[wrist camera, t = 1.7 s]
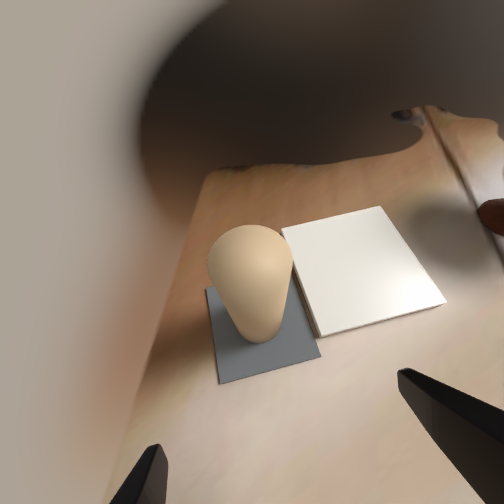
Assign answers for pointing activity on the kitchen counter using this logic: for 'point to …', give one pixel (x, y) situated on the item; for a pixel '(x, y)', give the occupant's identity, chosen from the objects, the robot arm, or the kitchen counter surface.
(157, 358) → the kitchen counter surface
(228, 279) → the tan tapered rounded piece
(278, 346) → the mat
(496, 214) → the ice cream bowl
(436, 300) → the cutting board
